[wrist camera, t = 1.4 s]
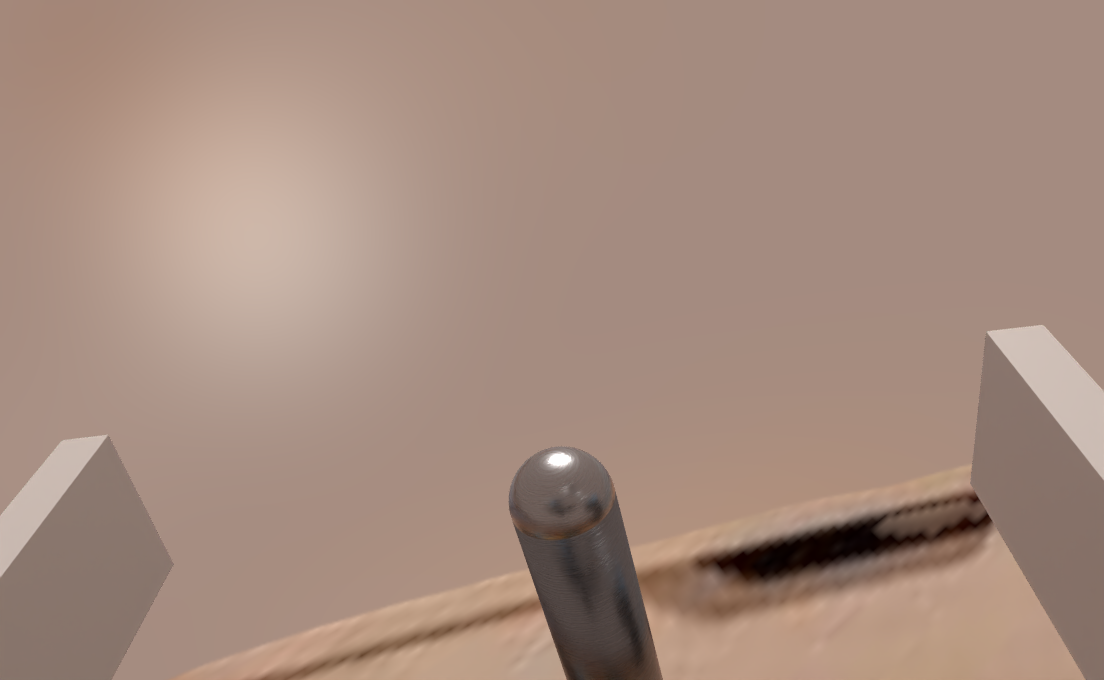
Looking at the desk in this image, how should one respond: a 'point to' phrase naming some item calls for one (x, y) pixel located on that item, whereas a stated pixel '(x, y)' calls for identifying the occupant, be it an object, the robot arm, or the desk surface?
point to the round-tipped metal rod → (582, 566)
